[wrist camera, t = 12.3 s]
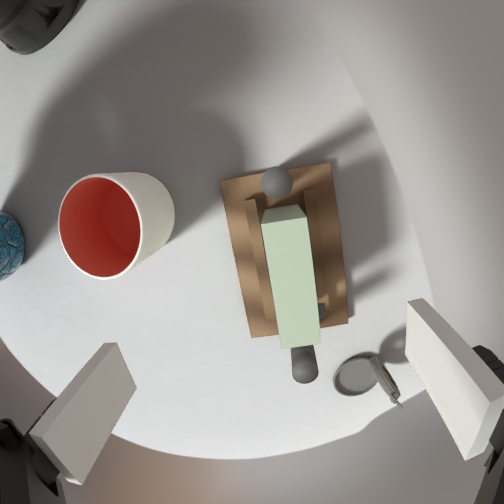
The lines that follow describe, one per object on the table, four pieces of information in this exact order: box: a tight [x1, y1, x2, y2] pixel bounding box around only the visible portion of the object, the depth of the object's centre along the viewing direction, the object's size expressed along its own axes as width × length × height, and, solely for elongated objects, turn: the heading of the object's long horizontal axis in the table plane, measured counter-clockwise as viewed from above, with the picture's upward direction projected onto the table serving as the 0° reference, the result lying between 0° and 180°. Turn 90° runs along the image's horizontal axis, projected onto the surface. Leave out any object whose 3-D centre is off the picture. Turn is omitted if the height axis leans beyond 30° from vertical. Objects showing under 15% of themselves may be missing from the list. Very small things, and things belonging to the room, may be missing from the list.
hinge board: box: [220, 163, 348, 384], centre depth 30 cm, size 19×12×11 cm, turn 10°
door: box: [261, 204, 326, 349], centre depth 29 cm, size 11×4×10 cm, turn 10°
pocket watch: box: [333, 356, 403, 408], centre depth 34 cm, size 8×8×10 cm
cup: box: [58, 172, 175, 280], centre depth 30 cm, size 10×10×10 cm
